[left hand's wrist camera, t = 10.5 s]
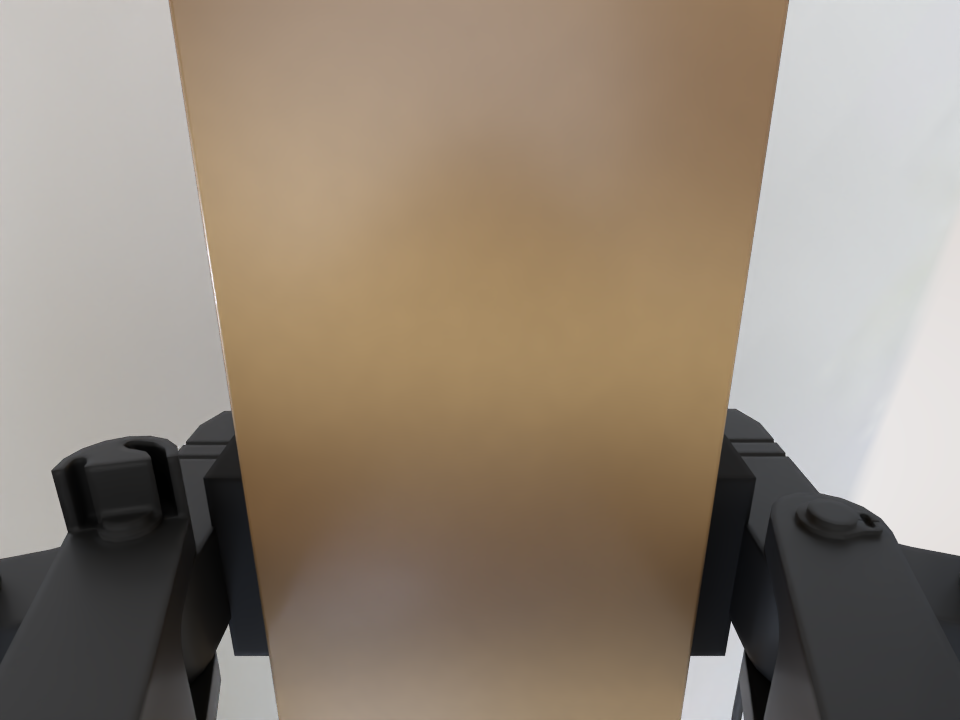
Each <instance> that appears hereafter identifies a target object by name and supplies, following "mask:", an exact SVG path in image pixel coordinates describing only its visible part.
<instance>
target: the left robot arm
mask: <svg viewBox="0 0 960 720" xmlns="http://www.w3.org/2000/svg"><path fill="white" fill-rule="evenodd" d="M51 472H52V475H53V479H54V483H55V486H56V490H57V494H58V497H59V501H60V505H61V508H62V512H63V516H64V519H65V523H66V527H67V530H68V534H67V536H66V537H65V539H64V541H63V543H62V545H61V547H59V548H55V549H51V550H46V551H41V552H35V553H30V554H25V555H19V556H14V557H9V558H4V559H0V720H216V716H217V708H218V700H219V692H220V684H221V677H220V670H219V664H218V659H217V654H216V649H217V647H218V645H219V643H220V641H221V639H222V637H223V635H224V632H225V630H226V628H227V626H228V624H229V627H230V633H231V638H232V644H233V650H234V655H235V656H269V651H268V645H267V638H266V632H265V625H264V619H263V612H262V606H261V599H260V593H259V586H258V580H257V573H256V567H255V560H254V554H253V547H252V541H251V534H250V528H249V521H248V515H247V508H246V502H245V495H244V489H243V482H242V475H241V469H240V462H239V456H238V449H237V443H236V436H235V430H234V423H233V417H232V411H224V412H222V413H220V414H219V415H217V416H215V417H213V418H212V419H210V420H208V421H207V422H205V423H203V424H202V425H200V426H199V427H198V428H197V430H196V431H195V432H194V433H193V434H192V436H191V437H190V438H189V439H188V440H187V441H186V445H183V446H182V447H181V449H180V450H179V451H178V449H177V446H176V445H175V444H173V443H172V442H170V441H169V440H168V439H164V438H159V437H153V436H129V437H123V438H118V439H112V440H107V441H103V442H100V443H97V444H94V445H92V446H89V447H86V448H83V449H81V450H79V451H77V452H75V453H73V454H72V455H70V456H68V457H66V458H64V459H63V460H62V461H61V462H60V463H59V464H58V465H57V466H56V467H55V468H54V469H53V470H52V471H51ZM731 622H732V624H733V626H734V628H735V630H736V632H737V634H738V636H739V638H740V640H741V643H742V645H743V647H744V654H743V659H742V664H741V669H740V675H739V680H738V685H737V691H736V696H735V701H734V706H733V712H732V719H731V720H741V717H742V712H743V714H744V720H960V556H956V555H951V554H946V553H941V552H936V551H930V550H925V549H919V548H914V547H910V546H905V545H901V544H898V542H897V540H896V538H895V536H894V534H893V532H892V531H891V530H890V529H889V527H888V526H887V525H886V524H885V523H884V521H883V520H882V519H881V518H879V517H878V516H876V515H875V514H873V513H872V512H870V511H869V510H867V509H866V508H864V507H862V506H860V505H857V504H855V503H852V502H850V501H847V500H845V499H842V498H839V497H834V496H829V495H825V494H820V493H819V492H818V491H817V490H816V489H815V487H814V486H813V485H812V484H811V483H810V482H809V480H808V479H807V478H806V477H805V476H804V474H803V473H802V472H801V471H800V470H799V469H798V467H797V466H796V465H795V464H794V463H793V462H792V460H791V459H790V458H789V457H786V456H785V452H784V451H783V450H782V449H781V447H780V446H779V445H778V444H777V443H774V439H773V438H772V437H771V436H770V434H769V433H768V432H767V431H766V430H765V429H764V427H763V426H762V425H761V424H760V423H759V422H757V421H756V420H754V419H752V418H750V417H749V416H747V415H745V414H743V413H742V412H740V411H738V410H737V409H727V416H726V422H725V429H724V436H723V442H722V449H721V455H720V462H719V469H718V475H717V482H716V489H715V495H714V502H713V509H712V515H711V522H710V529H709V535H708V542H707V548H706V555H705V562H704V568H703V575H702V582H701V588H700V595H699V602H698V608H697V615H696V621H695V628H694V635H693V641H692V648H691V655H690V656H725V653H726V647H727V641H728V636H729V630H730V624H731Z"/></svg>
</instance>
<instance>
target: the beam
mask: <svg viewBox="0 0 960 720" xmlns="http://www.w3.org/2000/svg"><path fill="white" fill-rule="evenodd" d="M788 4H789V0H169V6H170V13H171V19H172V26H173V32H174V39H175V45H176V52H177V58H178V65H179V71H180V78H181V84H182V91H183V97H184V104H185V110H186V117H187V124H188V130H189V137H190V143H191V150H192V156H193V163H194V169H195V176H196V182H197V189H198V195H199V202H200V208H201V215H202V221H203V228H204V234H205V241H206V247H207V254H208V260H209V267H210V273H211V280H212V286H213V293H214V299H215V306H216V313H217V319H218V326H219V332H220V339H221V345H222V352H223V358H224V365H225V371H226V378H227V384H228V391H229V397H230V404H231V410H232V417H233V423H234V430H235V436H236V443H237V449H238V456H239V462H240V469H241V475H242V482H243V489H244V495H245V502H246V508H247V515H248V521H249V528H250V534H251V541H252V547H253V554H254V560H255V567H256V573H257V580H258V586H259V593H260V599H261V606H262V612H263V619H264V625H265V632H266V638H267V645H268V651H269V658H270V664H271V671H272V678H273V684H274V691H275V697H276V704H277V710H278V717H279V720H681V714H682V708H683V701H684V694H685V688H686V681H687V675H688V668H689V661H690V655H691V648H692V641H693V635H694V628H695V621H696V615H697V608H698V602H699V595H700V588H701V582H702V575H703V568H704V562H705V555H706V548H707V542H708V535H709V529H710V522H711V515H712V509H713V502H714V495H715V489H716V482H717V475H718V469H719V462H720V455H721V449H722V442H723V436H724V429H725V422H726V416H727V409H728V402H729V396H730V389H731V382H732V376H733V369H734V363H735V356H736V349H737V343H738V336H739V329H740V323H741V316H742V309H743V303H744V296H745V290H746V283H747V276H748V270H749V263H750V256H751V250H752V243H753V236H754V230H755V223H756V216H757V210H758V203H759V197H760V190H761V183H762V177H763V170H764V163H765V157H766V150H767V143H768V137H769V130H770V124H771V117H772V110H773V104H774V97H775V90H776V84H777V77H778V70H779V64H780V57H781V51H782V44H783V37H784V31H785V24H786V17H787V11H788Z"/></svg>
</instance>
